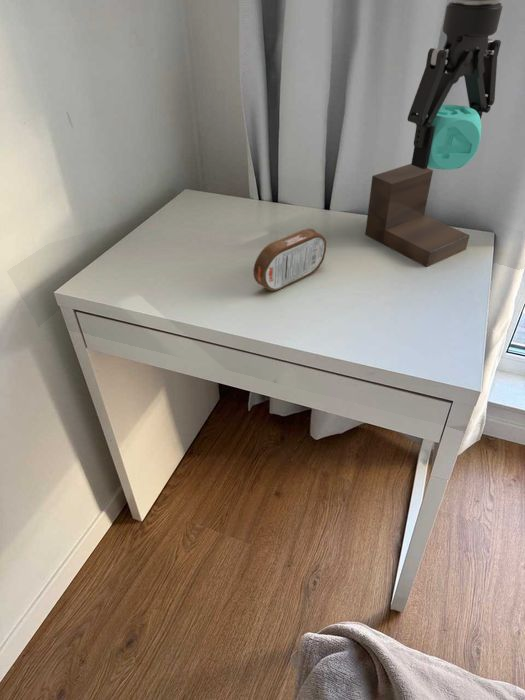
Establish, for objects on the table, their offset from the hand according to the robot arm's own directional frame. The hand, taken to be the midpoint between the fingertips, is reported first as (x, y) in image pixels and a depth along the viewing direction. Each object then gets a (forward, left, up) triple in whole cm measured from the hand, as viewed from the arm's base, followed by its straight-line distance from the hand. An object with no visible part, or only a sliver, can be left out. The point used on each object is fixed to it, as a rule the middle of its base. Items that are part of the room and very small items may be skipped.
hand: (442, 159), depth 84 cm
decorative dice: (0, 0, -1) cm, 1 cm away
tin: (+6, +27, -17) cm, 33 cm away
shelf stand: (+3, -1, -17) cm, 17 cm away
